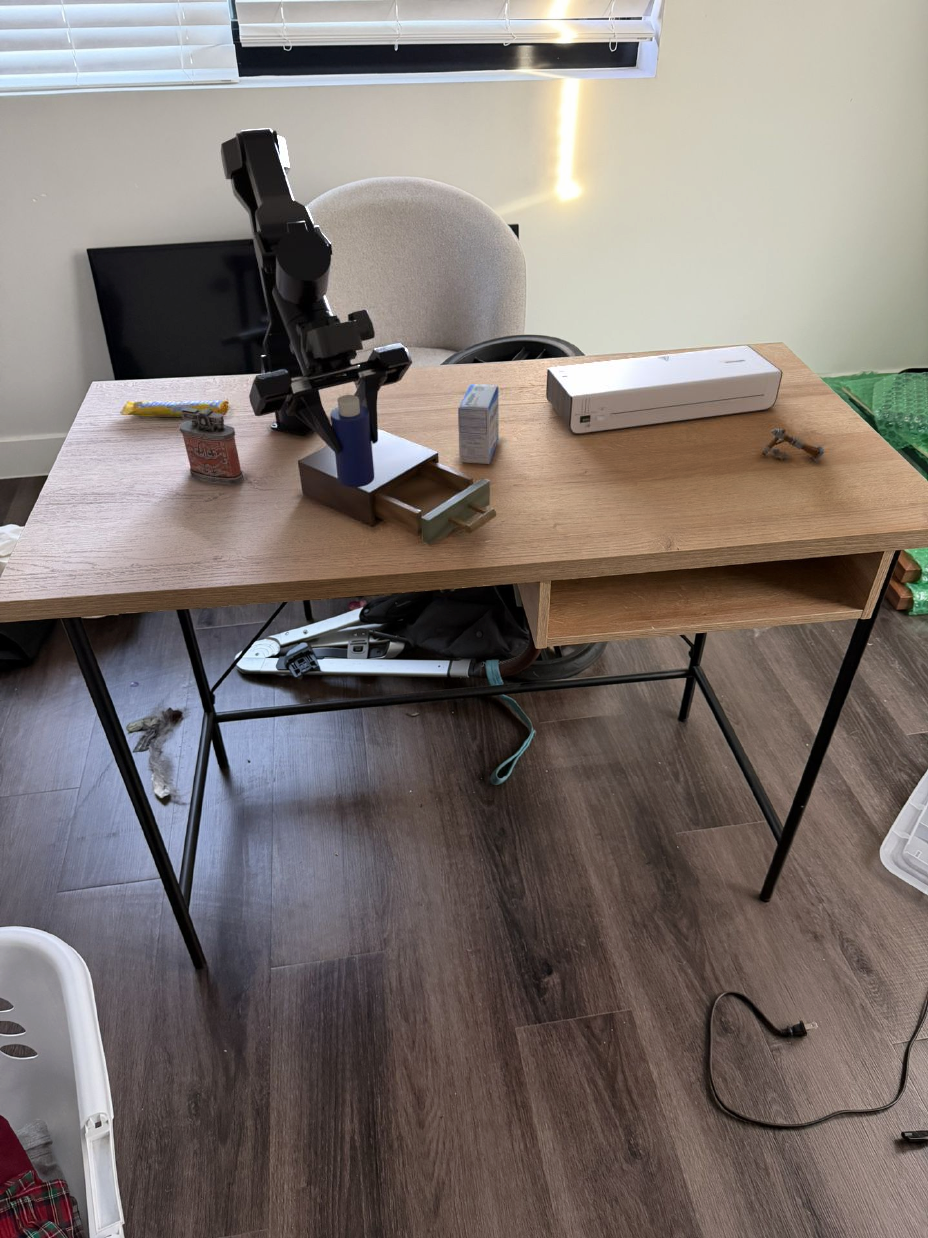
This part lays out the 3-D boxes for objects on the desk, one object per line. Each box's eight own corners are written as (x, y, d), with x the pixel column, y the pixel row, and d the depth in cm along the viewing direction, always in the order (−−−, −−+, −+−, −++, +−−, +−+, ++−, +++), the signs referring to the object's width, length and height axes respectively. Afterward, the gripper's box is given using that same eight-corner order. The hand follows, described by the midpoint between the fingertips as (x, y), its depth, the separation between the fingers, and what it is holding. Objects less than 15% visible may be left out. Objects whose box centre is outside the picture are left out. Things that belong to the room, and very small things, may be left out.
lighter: (248, 474, 121) (235, 408, 114) (236, 486, 118) (222, 419, 112) (199, 466, 123) (183, 400, 116) (185, 477, 120) (169, 411, 114)
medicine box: (489, 465, 122) (489, 408, 116) (458, 463, 122) (457, 406, 117) (498, 439, 128) (499, 384, 122) (469, 437, 128) (468, 382, 123)
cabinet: (439, 486, 118) (438, 452, 114) (372, 527, 110) (369, 492, 106) (370, 457, 124) (367, 424, 121) (302, 494, 116) (297, 460, 113)
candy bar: (234, 406, 138) (232, 395, 137) (229, 418, 135) (226, 407, 133) (129, 408, 138) (126, 397, 137) (122, 420, 135) (118, 409, 133)
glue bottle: (330, 478, 103) (320, 399, 97) (358, 465, 106) (351, 387, 99) (353, 491, 101) (345, 411, 95) (382, 477, 103) (375, 399, 97)
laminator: (740, 380, 143) (747, 344, 139) (778, 412, 133) (787, 374, 129) (545, 404, 137) (547, 367, 133) (570, 439, 127) (573, 400, 124)
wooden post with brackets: (755, 448, 122) (774, 422, 120) (802, 470, 124) (822, 444, 121) (757, 454, 121) (777, 428, 118) (805, 476, 123) (825, 450, 120)
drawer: (513, 514, 110) (513, 490, 108) (453, 556, 103) (452, 531, 101) (419, 475, 118) (418, 452, 116) (358, 512, 111) (355, 488, 109)
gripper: (239, 303, 89) (292, 443, 88) (400, 272, 96) (450, 402, 95) (229, 351, 99) (277, 476, 99) (375, 320, 106) (420, 437, 106)
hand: (357, 447), depth 99 cm, fingers closed on glue bottle, 4 cm apart
